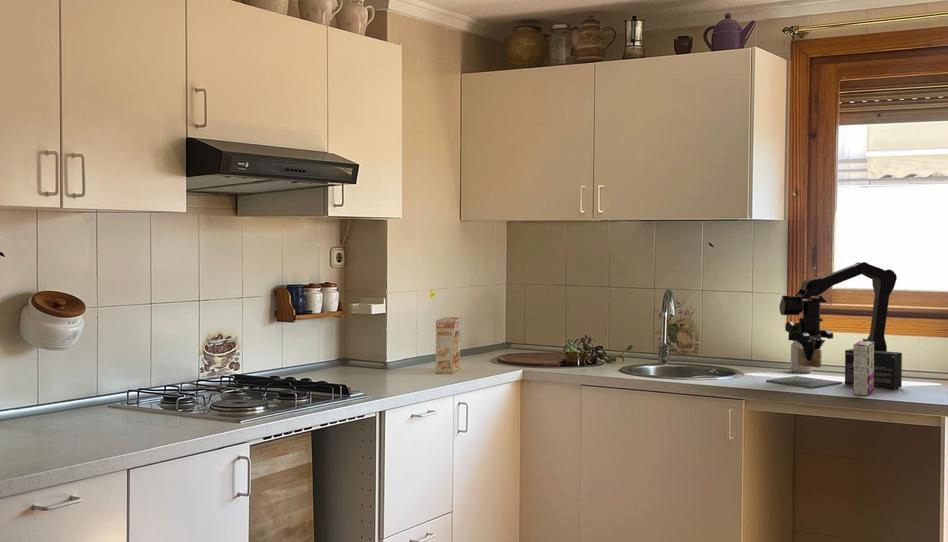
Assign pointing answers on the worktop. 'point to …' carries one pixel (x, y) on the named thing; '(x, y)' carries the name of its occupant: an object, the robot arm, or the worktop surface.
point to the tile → (814, 360)
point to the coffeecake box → (448, 345)
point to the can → (794, 359)
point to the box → (879, 369)
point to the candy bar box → (863, 368)
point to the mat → (804, 382)
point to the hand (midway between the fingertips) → (810, 360)
